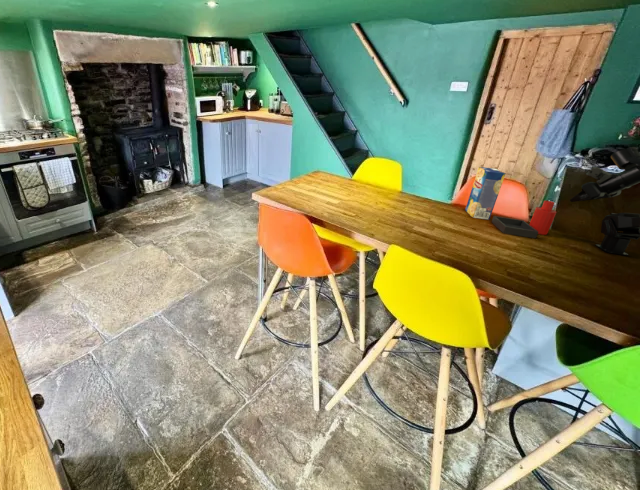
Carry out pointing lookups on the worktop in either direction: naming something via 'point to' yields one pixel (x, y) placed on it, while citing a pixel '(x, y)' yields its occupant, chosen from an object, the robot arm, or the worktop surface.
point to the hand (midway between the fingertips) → (576, 200)
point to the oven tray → (514, 227)
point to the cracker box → (484, 192)
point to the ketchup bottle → (543, 217)
